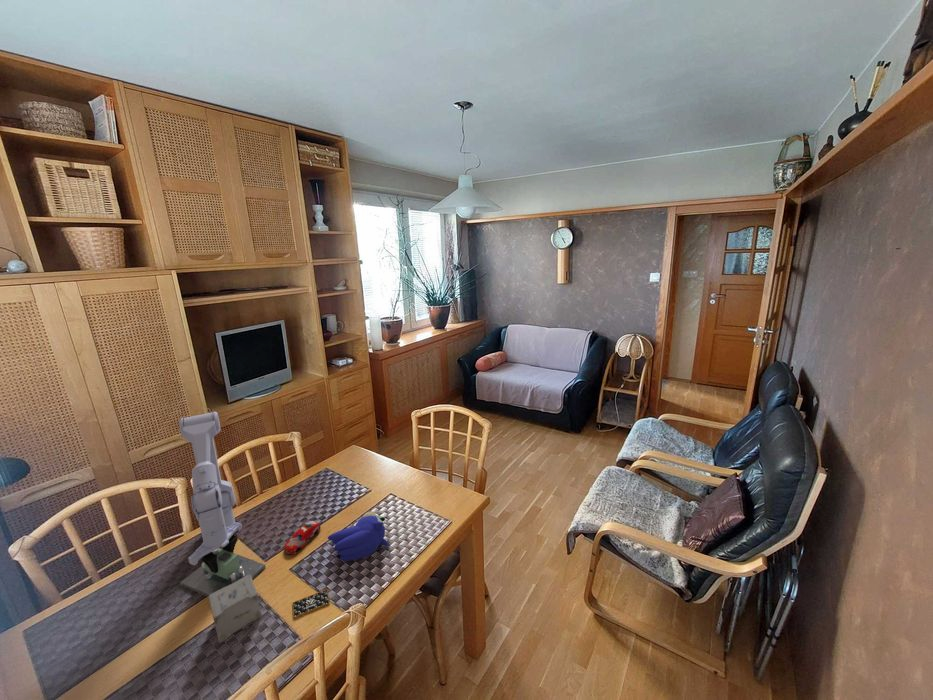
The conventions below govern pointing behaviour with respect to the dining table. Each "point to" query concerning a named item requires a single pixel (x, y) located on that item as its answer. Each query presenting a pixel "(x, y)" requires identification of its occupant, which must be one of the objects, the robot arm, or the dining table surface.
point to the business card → (310, 603)
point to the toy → (360, 538)
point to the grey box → (234, 607)
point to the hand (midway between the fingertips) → (222, 565)
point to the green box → (225, 563)
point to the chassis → (212, 583)
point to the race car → (302, 537)
